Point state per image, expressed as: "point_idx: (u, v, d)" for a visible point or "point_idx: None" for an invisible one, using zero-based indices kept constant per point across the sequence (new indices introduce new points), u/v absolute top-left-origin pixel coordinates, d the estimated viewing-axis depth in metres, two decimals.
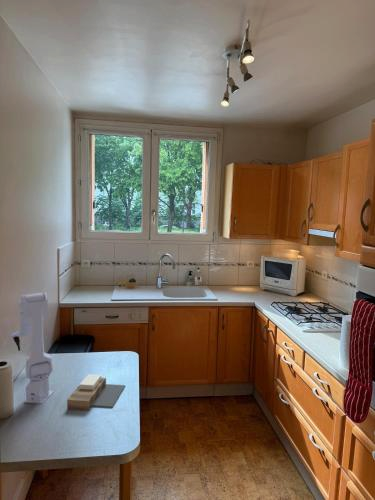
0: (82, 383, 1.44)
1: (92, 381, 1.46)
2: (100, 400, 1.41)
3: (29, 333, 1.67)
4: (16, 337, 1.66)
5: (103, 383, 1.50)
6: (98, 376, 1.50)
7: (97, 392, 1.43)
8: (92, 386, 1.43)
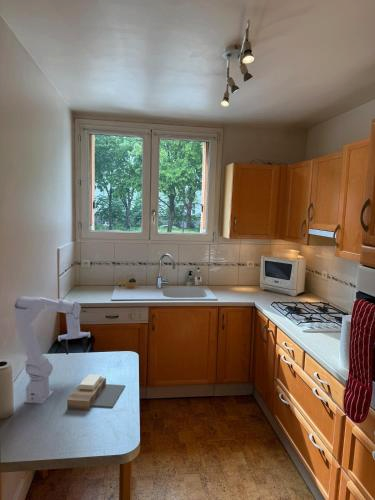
0: (82, 383, 1.44)
1: (92, 381, 1.46)
2: (100, 400, 1.41)
3: (75, 336, 1.61)
4: (63, 340, 1.62)
5: (103, 383, 1.50)
6: (98, 376, 1.50)
7: (97, 392, 1.43)
8: (92, 386, 1.43)
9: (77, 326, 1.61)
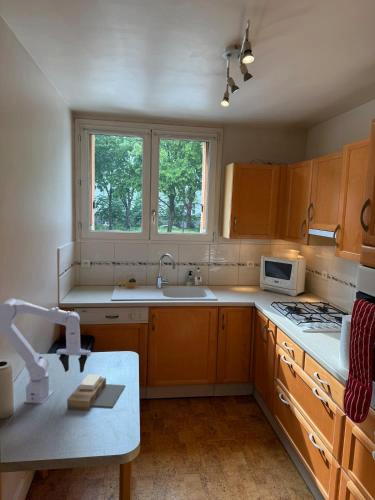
0: (82, 383, 1.44)
1: (92, 381, 1.46)
2: (100, 400, 1.41)
3: (72, 353, 1.44)
4: (62, 355, 1.47)
5: (103, 383, 1.50)
6: (98, 376, 1.50)
7: (97, 392, 1.43)
8: (92, 386, 1.43)
9: (71, 342, 1.44)
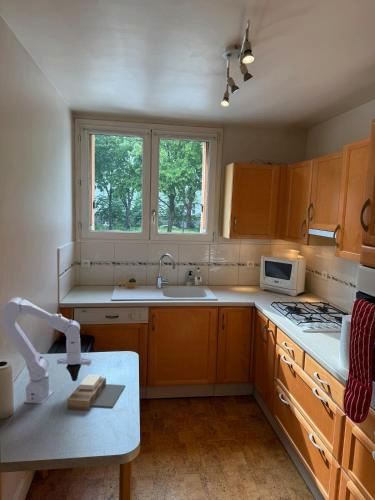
0: (82, 383, 1.44)
1: (92, 381, 1.46)
2: (100, 400, 1.41)
3: (72, 362, 1.44)
4: None
5: (103, 383, 1.50)
6: (98, 376, 1.50)
7: (97, 392, 1.43)
8: (92, 386, 1.43)
9: (72, 352, 1.44)
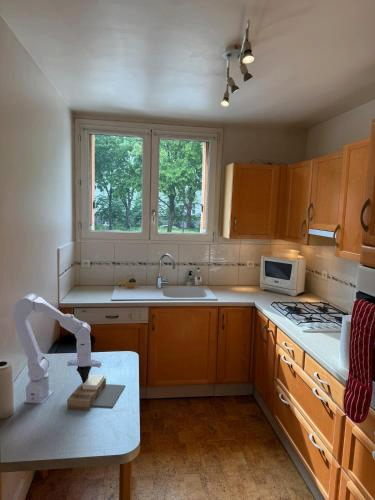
0: (85, 383, 1.44)
1: (95, 381, 1.46)
2: (100, 400, 1.41)
3: (83, 364, 1.44)
4: (72, 365, 1.47)
5: (103, 383, 1.50)
6: (101, 376, 1.50)
7: (97, 392, 1.43)
8: (95, 386, 1.42)
9: (82, 354, 1.43)
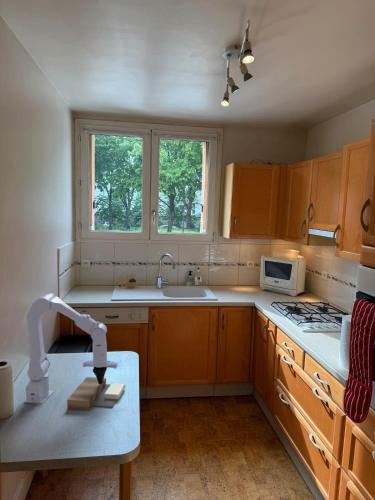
0: None
1: None
2: (100, 400, 1.41)
3: (99, 365, 1.43)
4: None
5: (103, 383, 1.50)
6: None
7: (97, 392, 1.43)
8: (105, 397, 1.42)
9: (97, 354, 1.43)
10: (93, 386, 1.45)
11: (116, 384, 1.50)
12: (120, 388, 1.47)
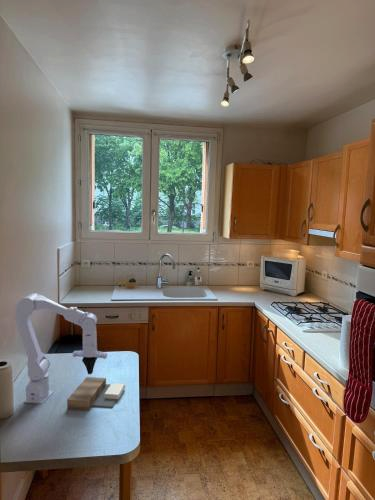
0: None
1: None
2: (100, 400, 1.41)
3: (88, 355, 1.43)
4: None
5: (103, 383, 1.50)
6: None
7: (97, 392, 1.43)
8: (105, 397, 1.42)
9: (87, 344, 1.42)
10: (93, 386, 1.45)
11: (116, 384, 1.50)
12: (120, 388, 1.47)
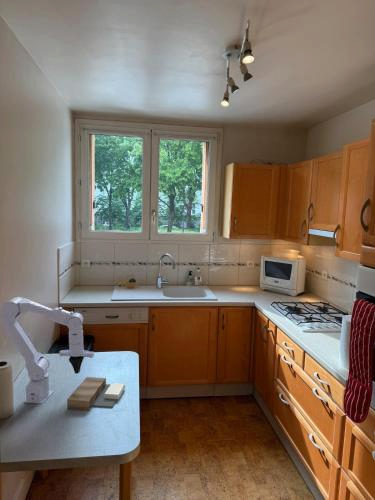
0: None
1: None
2: (100, 400, 1.41)
3: (75, 354, 1.43)
4: None
5: (103, 383, 1.50)
6: None
7: (97, 392, 1.43)
8: (105, 397, 1.42)
9: (74, 343, 1.42)
10: (93, 386, 1.45)
11: (116, 384, 1.50)
12: (120, 388, 1.47)
